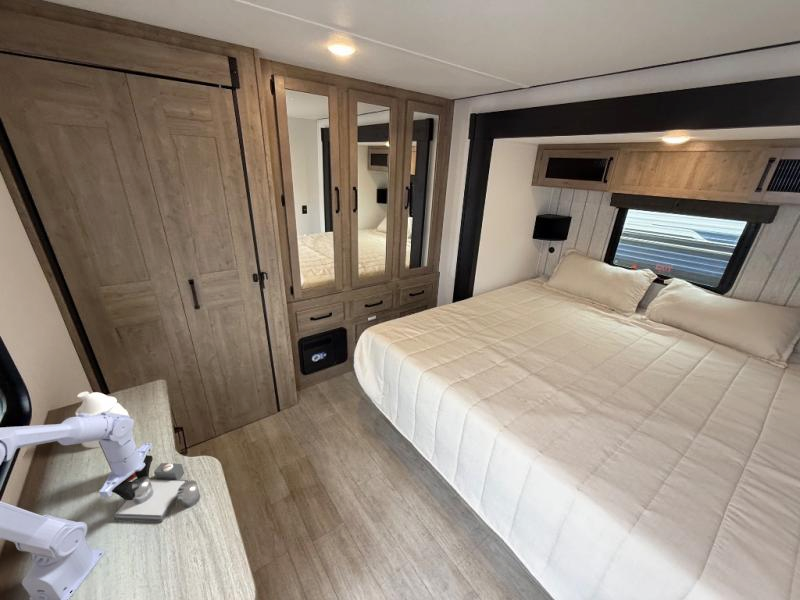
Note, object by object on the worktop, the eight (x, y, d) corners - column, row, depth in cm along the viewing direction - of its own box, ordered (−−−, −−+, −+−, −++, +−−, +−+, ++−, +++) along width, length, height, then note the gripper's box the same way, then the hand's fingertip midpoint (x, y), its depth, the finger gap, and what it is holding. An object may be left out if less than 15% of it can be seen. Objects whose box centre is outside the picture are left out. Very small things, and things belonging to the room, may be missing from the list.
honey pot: (98, 452, 98) (79, 408, 91) (71, 441, 102) (51, 397, 95) (141, 424, 110) (126, 383, 103) (115, 414, 113) (100, 374, 106)
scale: (162, 521, 81) (158, 511, 79) (114, 520, 80) (109, 509, 79) (195, 473, 94) (192, 463, 92) (153, 472, 93) (150, 461, 92)
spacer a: (142, 505, 82) (137, 493, 81) (129, 501, 83) (123, 488, 81) (157, 490, 86) (153, 478, 85) (144, 486, 87) (140, 474, 85)
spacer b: (194, 508, 84) (190, 495, 82) (178, 507, 84) (173, 495, 82) (203, 492, 88) (200, 480, 86) (188, 492, 88) (184, 480, 86)
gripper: (113, 479, 72) (130, 517, 77) (158, 431, 85) (170, 466, 91) (83, 478, 72) (101, 516, 77) (132, 430, 85) (145, 465, 90)
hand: (136, 489), depth 84 cm, fingers open, 5 cm apart
